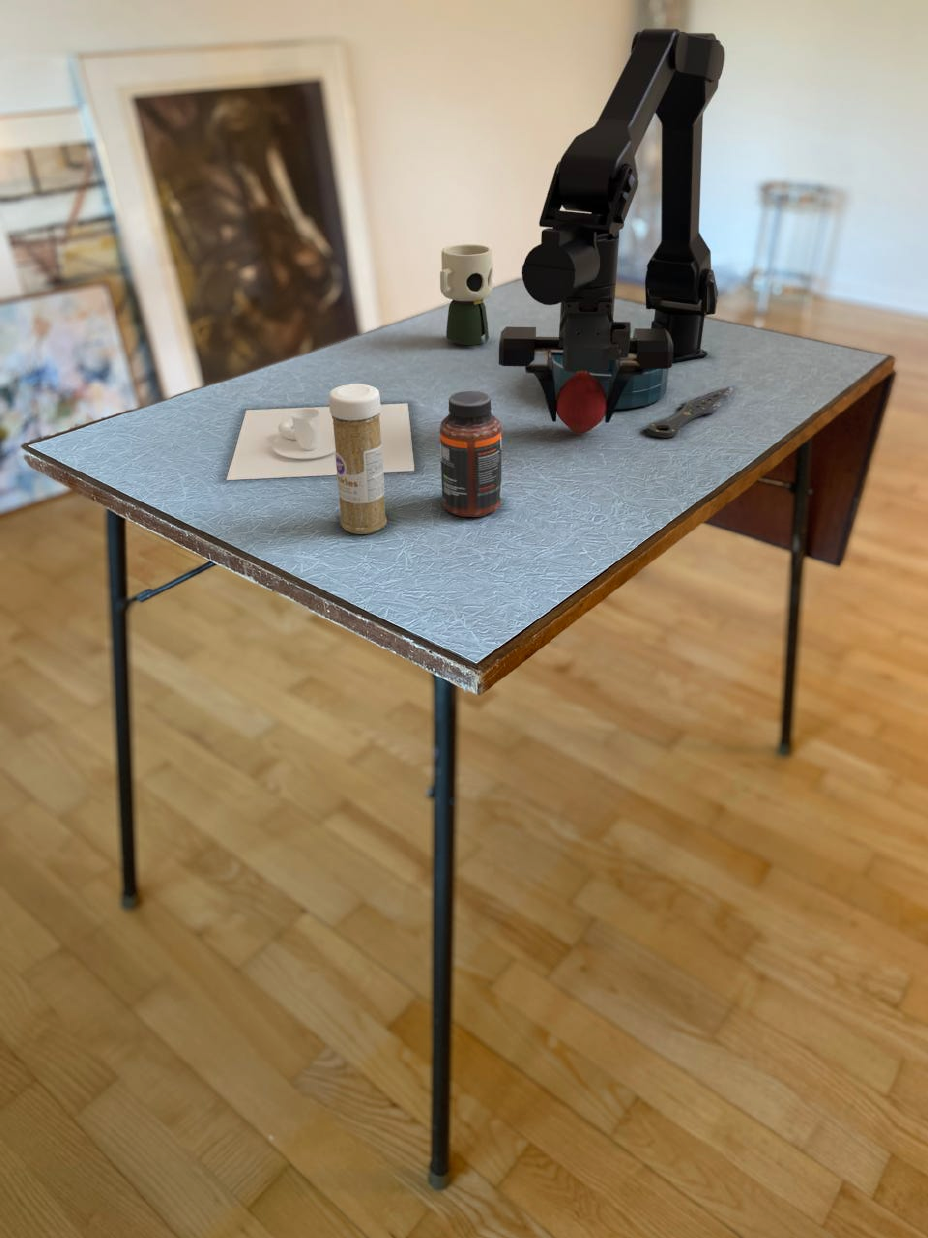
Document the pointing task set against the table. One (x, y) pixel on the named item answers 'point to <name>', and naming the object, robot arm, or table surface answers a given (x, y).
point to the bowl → (635, 392)
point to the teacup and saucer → (310, 443)
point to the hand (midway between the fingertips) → (580, 420)
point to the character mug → (466, 291)
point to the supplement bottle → (470, 456)
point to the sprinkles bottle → (358, 457)
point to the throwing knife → (689, 412)
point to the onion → (581, 402)
